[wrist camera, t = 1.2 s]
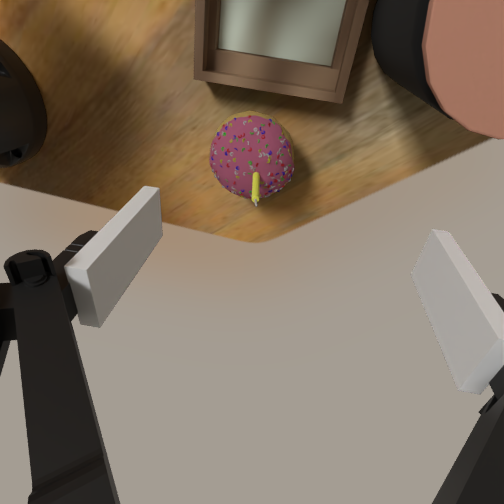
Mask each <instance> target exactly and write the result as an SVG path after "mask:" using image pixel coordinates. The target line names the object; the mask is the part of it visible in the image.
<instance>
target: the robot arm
mask: <svg viewBox="0 0 504 504" xmlns="http://www.w3.org/2000/svg"><path fill="white" fill-rule="evenodd" d="M46 129H47V119H46V112H45V107H44V103H43V100H42V97H41V94H40V92H39V90H38V87H37V85H36V83H35V81H34V80H33V78H32V76H31V74H30V73H29V71H28V70H27V68H26V67H25V65H24V64H23V63H22V62H21V60H20V59H19V58H18V57H17V56H16V54H15V53H14V52H13V51H12V50H11V49H10V48H9V47H8V46H7V45H6V44H5V43H4V42H2V41H1V40H0V168H7V167H11V166H14V165H17V164H19V163H21V162H23V161H25V160H27V159H29V158H31V157H33V156H34V155H35V154H36V153H37V152H38V151H39V150H40V148H41V146H42V145H43V142H44V140H45V136H46ZM161 237H162V219H161V204H160V189H159V188H156V187H149V186H144V187H143V188H142V189H141V190H140V191H139V192H138V193H137V194H136V195H135V196H134V197H133V198H132V199H131V200H130V201H129V202H128V203H127V204H126V205H125V206H124V207H123V208H122V209H121V210H120V211H119V212H118V213H117V214H116V215H115V216H114V217H113V218H112V219H111V220H110V221H109V222H108V223H107V224H106V225H105V226H104V227H103V228H102V229H101V230H100V231H99V232H98V231H92V230H91V231H88V232H86V233H84V234H82V235H80V236H78V237H77V238H76V239H75V240H74V241H73V242H72V243H71V245H69V246H68V247H67V248H66V249H65V251H62V252H61V253H60V254H59V255H58V256H57V257H56V258H55V259H54V260H53V261H52V259H51V256H50V254H49V253H48V252H46V251H43V250H26V251H23V252H19V253H17V254H15V255H13V256H11V257H9V258H8V259H7V260H6V261H5V264H4V269H5V271H6V274H7V276H8V278H9V281H10V283H0V375H1V372H2V368H3V364H4V362H5V358H6V355H7V351H8V348H9V344H10V341H11V340H17V342H18V351H19V361H20V369H21V379H22V389H23V399H24V409H25V418H26V428H27V437H28V447H29V456H30V466H31V476H32V493H31V494H30V495H29V497H28V504H120V501H119V498H118V494H117V490H116V486H115V483H114V479H113V475H112V472H111V468H110V464H109V461H108V457H107V453H106V449H105V446H104V442H103V438H102V434H101V431H100V427H99V424H98V420H97V416H96V412H95V409H94V405H93V401H92V397H91V394H90V390H89V386H88V382H87V379H86V375H85V371H84V368H83V364H82V360H81V356H80V353H79V349H78V345H77V341H76V338H75V334H74V330H73V327H72V323H71V321H72V320H73V318H74V317H75V316H76V314H78V317H79V321H80V324H82V325H87V326H93V327H99V328H100V327H101V326H102V324H103V323H104V321H105V320H106V318H107V317H108V315H109V314H110V312H111V311H112V309H113V308H114V306H115V305H116V304H117V302H118V301H119V299H120V297H121V296H122V295H123V293H124V292H125V290H126V289H127V287H128V286H129V284H130V283H131V281H132V280H133V278H134V277H135V275H136V274H137V273H138V271H139V270H140V268H141V267H142V265H143V264H144V262H145V261H146V259H147V258H148V256H149V255H150V253H151V252H152V250H153V249H154V247H155V246H156V244H157V243H158V242H159V240H160V239H161ZM411 277H412V279H413V282H414V284H415V287H416V289H417V292H418V294H419V296H420V299H421V301H422V304H423V306H424V309H425V311H426V314H427V316H428V318H429V321H430V323H431V326H432V328H433V331H434V333H435V335H436V338H437V340H438V343H439V345H440V348H441V350H442V353H443V355H444V358H445V360H446V362H447V365H448V367H449V370H450V372H451V375H452V377H453V380H454V382H455V384H456V387H457V389H458V391H463V392H470V393H475V394H481V393H482V392H483V391H484V389H485V388H486V387H487V386H488V385H489V384H490V386H491V388H492V390H493V392H494V395H493V396H492V398H491V399H490V400H489V401H488V402H487V403H486V404H485V405H484V406H483V408H482V409H481V410H480V411H479V413H480V414H481V416H480V418H479V420H478V421H477V423H476V425H475V427H474V428H473V430H472V432H471V434H470V436H469V437H468V439H467V441H466V443H465V445H464V447H463V448H462V450H461V452H460V454H459V456H458V457H457V459H456V461H455V463H454V465H453V466H452V468H451V470H450V472H449V474H448V476H447V477H446V479H445V481H444V483H443V485H442V486H441V488H440V490H439V492H438V494H437V496H436V497H435V499H434V501H433V503H432V504H504V299H503V298H502V297H501V296H499V295H498V294H494V293H490V292H489V290H488V288H487V287H486V285H485V284H484V283H483V281H482V279H481V278H480V277H479V275H478V274H477V272H476V271H475V269H474V268H473V266H472V265H471V263H470V262H469V260H468V259H467V257H466V256H465V255H464V253H463V252H462V250H461V248H460V247H459V246H458V244H457V243H456V241H455V240H454V238H453V237H452V235H451V234H450V232H449V231H443V230H436V229H432V230H431V233H430V235H429V237H428V239H427V241H426V243H425V245H424V247H423V249H422V252H421V254H420V256H419V258H418V260H417V262H416V264H415V266H414V268H413V270H412V273H411Z"/></svg>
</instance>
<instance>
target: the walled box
mask: <svg viewBox="0 0 504 504" xmlns="http://www.w3.org/2000/svg"><path fill="white" fill-rule="evenodd" d="M368 3H369V0H196V1H195V44H194V79H195V80H201V81H207V82H213V83H219V84H225V85H231V86H237V87H244V88H250V89H256V90H262V91H268V92H274V93H280V94H286V95H292V96H298V97H304V98H310V99H316V100H322V101H328V102H335V103H341V104H342V102H343V98H344V94H345V91H346V87H347V83H348V79H349V75H350V72H351V68H352V64H353V60H354V56H355V53H356V49H357V45H358V41H359V37H360V34H361V30H362V26H363V22H364V18H365V14H366V11H367V7H368Z"/></svg>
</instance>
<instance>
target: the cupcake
mask: <svg viewBox="0 0 504 504" xmlns="http://www.w3.org/2000/svg"><path fill="white" fill-rule="evenodd" d="M209 162H210V166H211V168H212V172H214V174H215V175H214V176H216V177H215V178H217V179H218V180H219V182H220V183H221V184H222V185H223V186H222V187H223V188H226V189H227V190H229V191H230V192H232V193H234V194H236V195H238V196H240V197H244V198H245V199H246V198H250V199H252V201H253V202H254V203H255V206H256V207H257V202H258V201H259V198H263V197H268V196H270V195H271V194H273V193H275V192H279V191H280V189H282V187H284V186H285V185H286V184H287V183H288V182H290V180H291V177H292V174H293V172H294V164H293V163H294V148H293V143H292V139H291V136H290V134H289V133H288V132H287V130H286V129H285V128H284V127H283V126H282V125H281V124H280V123H279V122H278V121H277V120H276V119H275V118H274V117H272V116H269V115H266V114H263V113H259V112H256V111H245V112H242V113H238V114H234V115H232V116H230V117H228V118H227V119H226V120H225V121H224V122H223V123H222V124H221V125H220V126H219V128H218V129H217V131H216V133H215V136H214V139H213V141H212V144H211V148H210V153H209Z"/></svg>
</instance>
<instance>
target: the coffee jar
mask: <svg viewBox="0 0 504 504" xmlns="http://www.w3.org/2000/svg"><path fill="white" fill-rule="evenodd" d="M371 39H372V44H373V50H374V55H375V58H376V59H377V61H378V63H379V64H380V66H381V68H382V70H383V71H384V73H385V74H387V75H388V76H389V77H390V78H392V79H393V80H394V81H396V82H397V83H398V84H400V85H401V86H402V87H404V88H405V89H407V90H408V91H410V92H411V93H413V94H414V95H416V96H417V97H419V98H420V99H422V100H423V101H425V102H426V103H428V104H429V105H430V106H432V107H433V108H435V109H436V110H438V111H439V112H441V113H442V114H444V115H445V116H447V117H448V118H450V119H452V120H455V121H457V122H458V123H459V124H460V125H462V126H463V127H464V128H465V129H467V130H468V131H472V132H475V133H479V134H482V135H485V136H489V137H492V138H496V139H504V0H377V3H376V6H375V9H374V11H373V19H372V29H371Z"/></svg>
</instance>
